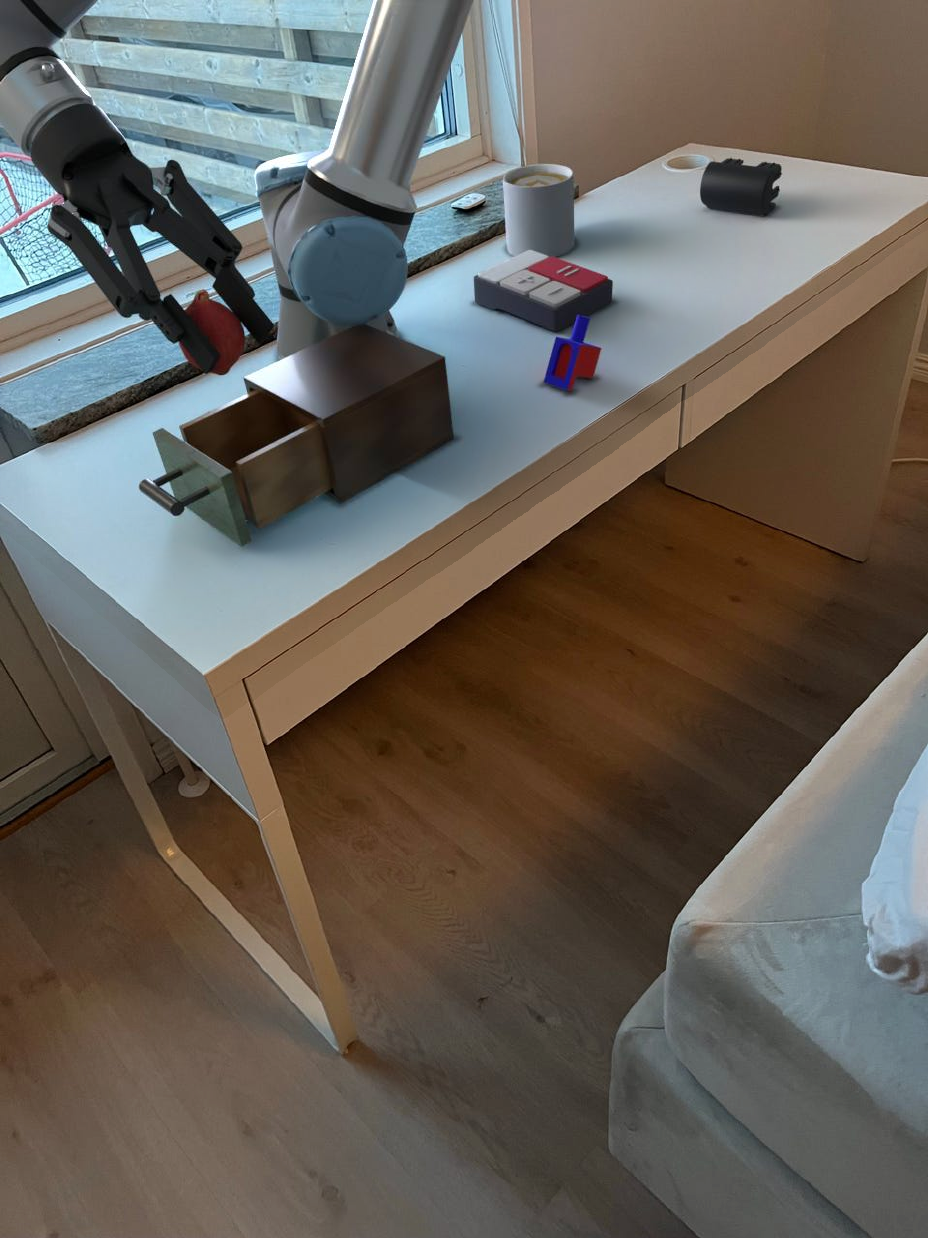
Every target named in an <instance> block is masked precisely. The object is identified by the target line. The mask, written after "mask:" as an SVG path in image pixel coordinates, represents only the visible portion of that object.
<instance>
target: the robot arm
mask: <svg viewBox="0 0 928 1238" xmlns="http://www.w3.org/2000/svg"><path fill="white" fill-rule="evenodd" d="M100 1H101V0H0V125H1V127H3V129H4V130H5V131H6V132H7V134H8V135H9V137H11V139H12V140H13V142H14V143H15V144H16V145H17V146H18V148H19V150H21V152H22V154H24V155H25V156H27V157H29V158H30V159H31V163H32V164H33V165H34V167H35V168H36V169H37V171H38V172H39V173H40V174H41V175H42V177H43V178H44V179H45V181H47V183H48V184H49V185H50V186H51V188H52V189H53V190H54V191H55V193H57V194H58V195H60V196H62V199H63V203H62V204H54V205H52V207H51V208H50V213H49V217H48V222H47V226H46V227H47V231H48V233H49V234H51V235H52V236H54V237H55V238H56V239H58V240H59V241H60V242H61V243H63V244H64V245H65V246H67V247H68V248H69V250H70V251H71V253H73V255H74V256H75V258H76V260H78V261H79V263H80V264H81V266H82V267H83V269H84V270H85V271H86V272H87V274H88V275H89V276H90V277H91V279H92V280H93V282H94V283H95V284H96V285H97V287H98V288H99V289H100V291H101V292H102V293H103V294H104V296H105V297H106V298H107V300H108V301H109V303H110V304H111V306H113V307H114V309H115V310H116V311H117V313H118V314H119V315H120V317H123V318H124V319H125V318H126V319H129V318H131V317H133V315H138V317H139V318H140V319H141V320H143V321H147V322H148V321H152V322H153V324H154V325H155V326H156V327H157V329H159V331H160V333H162V334H163V336H164V337H165V338H166V339H167V341H169V342H170V343H172V344H173V345H175V344H177V343H179V342H180V343H181V345H182V346H183V347H184V348H185V349H186V351H187V352H188V353H189V354H190V356H191V357H192V358H193V359H194V360H195V362H196V363H197V364H198V365H199V366H200V368H201V369H202V370H201V369H200V370H201V371H202V372H203V373H204V374H205V375H208V374H209V373H210V372H211V371H213V369H214V367H215V365H216V364H217V362H218V360H219V358H220V357H221V354H220V353H219V352H218V351H217V349H216V348H215V347H214V346H213V345H212V343H211V342H210V341H209V340H208V338H207V337H206V336H205V335H204V333H203V332H202V331H201V330H200V329H199V327H198V326H197V325H196V324H195V322H194V321H193V320H192V319H191V318H190V316H189V315H188V314H187V313H186V311H185V309H184V308H183V306H182V305H181V303H179V301H178V300H177V299H176V298H175V296H174V295H173V294H172V293H169V294H167V295H166V296H164V297H163V299H162V298H161V292H160V289H159V288H158V285H157V283H156V282H155V279H154V277H153V275H152V272H151V271H150V269H149V267H148V264H147V262H146V260H145V258H144V255H143V254H142V251H141V249H140V247H139V244H138V242H137V241H136V239H135V236H134V234H133V231H132V229H131V227H136V226H141V225H142V226H143V227H144V228H146V230H148V231H149V232H151V233H157V234H159V235H160V236H161V237H162V238H164V239H165V240H166V241H168V242H169V243H170V244H171V245H173V246H174V247H175V248H177V249H178V250H179V251H180V252H181V253H182V254H184V255H185V256H186V257H187V258H189V259H190V260H191V261H192V262H194V263H195V264H196V265H197V266H199V267H200V268H202V270H204V271H205V272H206V273H208V274H209V275H210V276H211V277H213V278H214V281H213V283H212V285H211V287H212V289H213V290H214V291H215V293H217V294H218V296H219V297H220V298H221V300H222V301H223V302H224V303H225V304H226V307H227V308H229V309H230V310H231V311H232V312H233V313H234V314H235V315H236V316H237V317H238V319H239V320H240V321H241V324H242V326H243V328H244V329H246V331H247V332H248V333H249V335H250V336H252V338H253V339H254V340H255V342H256V343H257V344H258V345H260V344H262V343H263V342H265V341H266V339H267V338H268V336H269V335H270V333H271V332H272V330H273V328H274V327H275V324H274V322H273V321H272V320H271V319H270V318H269V316H268V315H267V314H266V313H265V311H264V310H263V308H261V306H260V305H259V304H258V302H257V301H256V300H255V299H254V298H255V296H256V293H255V290H254V288H253V287H252V286H251V285H250V284H249V282H248V281H247V280H246V278H245V277H244V276H243V275H242V273H241V272H240V271H239V270H238V268H237V267H236V262H237V260H238V258H239V256H240V254H241V253H242V250H243V245H242V243H241V242H240V240H239V239H238V238H237V236H235V235H234V234H233V232H232V231H231V230H230V229H229V228H228V226H227V225H226V224H225V223H224V222H223V221H222V219H220V217H219V216H218V215H217V214H216V213H215V211H214V210H213V209H212V208H211V207H210V205H208V203H207V202H206V201H205V200H204V199H203V197H201V195H200V194H199V193H198V192H197V191H196V189H195V188H194V187H193V186H192V185H191V183H189V182H188V179H187V177H186V174H185V172H184V171H183V169H182V166H181V164H180V162H178V161H177V160H175V159H169V160H167V162H166V165H165V166H159V167H150V166H149V165H148V164H147V163H146V162H144V161H143V160H141V159H139V158H138V157H136V155H134V153H133V152H132V150H131V148H130V146H129V144H128V142H127V140H126V138H125V136H124V135H123V134H122V132H121V131H120V130H119V129H118V128H117V126H116V125H115V124H114V122H113V121H112V120H111V119H110V118H109V116H108V115H107V114H106V113H105V111H104V110H103V109H102V108H101V107H100V106H98V105H96V103H95V100H94V99H93V97H92V96H91V95H90V94H89V92H88V90H86V88H85V87H84V86H83V84H81V82H80V81H79V79H78V78H77V77H76V76H75V75H74V74H73V72H72V71H71V70H70V68H69V67H68V66H67V64H66V63H65V62H64V60H63V59H62V58H61V57H60V56H59V54H57V52H56V51H55V49H54V46H56V44H58V43H59V42H60V40H62V39H63V38H64V37H65V36H66V35H67V34H68V32H69V31H70V30H71V29H72V28H73V27H74V26H75V25H76V24H77V23H78V22H79V21H80V20H81V19H82V18H83V17H84V16H85V15H86V14H87V13H88V12H89V11H91V10H92V9H93V7H95V5H97V4H98V3H99V2H100ZM474 1H475V0H373V2H372V5H371V9H370V13H369V16H368V19H367V21H366V26H365V29H364V32H363V36H362V39H361V42H360V46H359V49H358V52H357V56H356V58H355V62H354V65H353V69H352V71H351V75H350V79H349V82H348V85H347V89H346V92H345V95H344V98H343V102H342V104H341V107H340V111H339V115H338V118H337V121H336V124H335V128H334V130H333V135H332V138H331V141H330V145H329V147H328V149H320V150H319V149H318V150H311V151H305V152H304V151H303V152H298V153H293V154H289V155H284V156H280V157H277V158H274V159H271V160H268V161H266V162H264V163H262V164H260V165H259V166H258V167H257V168H256V169H255V172H254V183H255V188H256V190H255V197H256V198H257V199H258V201H259V206H260V210H261V215H262V219H263V224H264V228H265V233H266V237H267V242H268V247H269V251H270V255H271V260H272V263H273V264H272V265H273V269H274V273H275V279H276V282H277V287H278V290H279V296H280V297H279V298H280V299H279V312H278V323H277V336H276V349H277V353H278V357H279V361H280V360H282V359H284V358H286V357H288V356H290V355H293V354H295V353H297V352H299V351H301V350H303V349H306V348H308V347H310V346H312V345H314V344H316V343H318V342H321V341H323V340H325V339H327V338H329V337H331V336H333V335H336V334H338V333H340V332H342V331H344V330H346V329H349V328H351V327H353V326H355V325H361V324H367V325H369V326H372V327H374V328H376V329H379V330H381V331H384V332H386V333H389V334H391V335H393V336H396V337H398V338H399V335H398V327H397V325H396V322H395V319H394V317H393V314H392V313H391V311H390V310H391V309H392V308H393V307H394V306H395V305H396V303H397V302H398V301H399V299H400V298H401V296H402V294H403V292H404V290H405V287H406V285H407V281H408V274H409V273H408V271H409V270H408V256H407V251H406V249H405V248H404V246H405V242H406V240H407V237H408V235H409V232H410V229H411V226H412V223H413V220H414V218H415V215H416V211H417V208H418V206H417V203H416V201H415V197H414V195H413V193H412V191H411V185H410V183H411V181H412V179H413V178H412V177H413V175H414V172H415V169H416V166H417V164H418V161H419V158H420V155H421V152H422V150H423V146H424V143H425V141H426V137H427V134H428V132H429V129H430V127H431V123H432V120H433V117H434V115H435V113H436V109H437V107H438V106H437V105H438V103H439V100H440V97H441V94H442V92H443V89H444V86H445V84H446V81H447V77H448V74H449V72H450V69H451V67H452V63H453V60H454V57H455V55H456V52H457V49H458V46H459V43H460V40H461V38H462V35H463V31H464V29H465V26H466V23H467V20H468V17H469V15H470V11H471V10H472V6H473V3H474ZM154 186H156V187H157V188H158V189H159V190H160V192H159V191H157V190H156V189H155V188H154ZM166 197H167V198H166ZM171 205H172V206H173V207H172V206H171ZM83 220H85V221H86V222H89V223H91V224H93V225H96V226H98V228H99V230H100V232H101V235H102V237H103V239H104V241H105V244H106V245H107V247H108V248H110V249H111V250H112V253H113V255H114V257H115V259H116V261H117V263H118V266H119V267H118V266H117V265H116V263H115V262H114V260H113V259H112V258H111V256H110V255H109V254H108V252H107V251H106V250H105V249H104V247H103V246H102V245H101V243H100V242H99V241H98V239H97V238H96V237H95V235H94V234H93V233H92V232H91V230H90V229H89V228H88V226H87V225H86V224H85V223H84V222H83ZM119 268H120V269H119Z"/></svg>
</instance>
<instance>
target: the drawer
mask: <svg viewBox="0 0 928 1238" xmlns="http://www.w3.org/2000/svg"><path fill="white" fill-rule="evenodd" d="M178 429H179V431H180V434H181V437H182V439H181V438H180V437H178V436H176V435H175V434H174V433H172V432H170V431H168V430H167V429H166V428H164V427H161V428H159V429H157V430H155V431H152V437H153V439H154V442H155V445H156V448H157V451H158V454H159V456H160V459H161V463H162V466H163V468H164V470H165V471H164V472H165V473H164V474H163V475H161V476H159V477H157V478H155V479H153V480H151V479H149V478H146V479H142V480H141V481H140V482H139V483H138V490H139V491H140V493H142V494H143V495H145V496H146V497H148V498H149V499H151V500H152V501H153V502H154V503H156V504H157V505H158V506H159V507H161V508H163V509H164V510H165V511H166V512H168V513H169V514H171V515H172V516H174V517H179V516H181V515H182V514H183V513H184V511H185V508H187V509H188V510H190V511H191V512H192V513H194V514H195V515H197V516H198V517H199V518H201V519H202V520H204V522H206V523H208V524H209V525H210V526H212V527H214V528H215V529H216V530H218V531H219V532H220V533H222V534H223V535H225V536H226V537H227V538H229V539H230V540H231V541H233V542H234V543H236V544H237V545H239V546H240V547H242V548H243V547H244V546H247V545H249V544H250V543H252V542H253V539H252V535H251V532H250V528H249V526H248V523H249V524H250V525H252V526H253V527H255V528H256V529H257V530H261V529H263V528H264V527H266V526H268V525H269V524H271V523H273V522H275V521H276V520H279V519H280V518H282V517H284V516H286V515H287V514H289V513H292V511H295V510H296V509H298V508H300V507H301V506H304V505H306V504H307V503H309V502H311V501H313V500H314V499H316V498H318V497H320V496H321V495H324V493H325V492H327V491H328V490H330V489H332V488H333V484H332V479H331V475H330V470H329V466H328V461H327V456H326V452H325V447H324V442H323V438H322V433H321V428H320V424H318V423H317V422H315V421H313V420H311V419H309V418H307V417H305V416H303V415H302V414H300V413H298V412H296V411H294V410H292V409H290V408H288V407H287V406H285V405H283V404H281V403H279V402H277V401H275V400H274V399H272V398H270V397H268V396H266V395H264V394H262V393H260V392H259V391H257V390H254V391H252V392H250V393H246V394H244V395H242V396H239V397H238V398H235V399H233V400H231V401H229V402H227V403H225V404H223V405H221V406H218V407H216V408H214V409H212V410H210V411H207V412H206V413H204V414H202V415H199V416H198V417H195V418H193V419H191V420H188V421H187V422H184V423H183V424H180V425H179V427H178ZM167 483H169V485H170V488H171V491H172V493H173V494H171V493H169V492H168V491H167V490H165V489H164V488H162V486H164V485H165V484H167Z"/></svg>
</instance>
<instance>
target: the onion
mask: <svg viewBox="0 0 928 1238" xmlns="http://www.w3.org/2000/svg"><path fill="white" fill-rule="evenodd" d="M209 296H210V294H209V292H208V291H207V290H206V289H204V288H202V289H199V290H197V291H196V292H195V295H194V296H193V300H192V302H191V303H190V304H189V305H188V306H187V307H186V308H185V309H184V310H185V311H186V313H187V314H188V315H189V316H190V318H191V319H192V320H193V321H194V322H195V324H196V325H197V326H198V327H199V329H200V330H201V331H202V332H203V333H204V335H205V336H206V337H207V338H208V340H209V341H210V342H211V343H212V345H213V346H214V347H215V348H216V349H217V351H218V352H219V353H220V354H221V357H220V358H219V360H218V362H217V364H216V365H215V367H214V369H213V371H211V372H209V373H210V374H214V375H218V376H225V375H227V374H229V372H230V371H231V368H232V367H233V366H234V365H235V364H236V363H237V362H238V360H239V359H240V357H242V355H243V353H244V348H245V345H246V334H245V327H244V325H243V324H242V323H241V321H240V320H239V319H238V317H237V316H236V315H235V314H234V313H233V312H232V311H231V309H230V308H229V307H228V306H227V305H225V304H223V303H221V302H219V301H217V300H214V299H211V298H210V297H209ZM178 346H179V348H180V350H181V352H182V354H183V356H184V358H185V359H186V360H187V361H188V362H189V364H190V365H192V366H193V367H195V368H197V369H199V370H201V371H203V370H202V369H201V368H200V366H199V365H198V364H197V363H196V362H195V360H194V359H193V358H192V357H191V356H190V354H189V353H188V352H187V351H186V349H185V348H184V347H183V346H182V345H181V343H180V342H178Z"/></svg>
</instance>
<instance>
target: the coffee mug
mask: <svg viewBox="0 0 928 1238" xmlns="http://www.w3.org/2000/svg"><path fill="white" fill-rule="evenodd" d="M574 177H575V175H574V171H573V169H572V168H570V167H568V166H565V165H563V164H557V163H556V164H554V163H536V164H535V163H534V164H528V165H524V166H519V167H515V168H514V169H511V170H509V171H507V172H506V173H504V175H503V177H502V189H503V204H504V205H503V206H504V207H503V208H504V222H505V237H506V239H505V240H506V250H507V252H508V253H509V254H510V255H511V256H512V257H515V256H517V255H519V254H521V253H523V252H526V251H528V250H533V251H536V252H538V253H541V254H544V255H547V256H549V257H556V258H558V257H559V256H562V255H565V254H567V253H569V252H570V251H572V250H573V249H574V247H575V181H574V180H575V179H574Z"/></svg>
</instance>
